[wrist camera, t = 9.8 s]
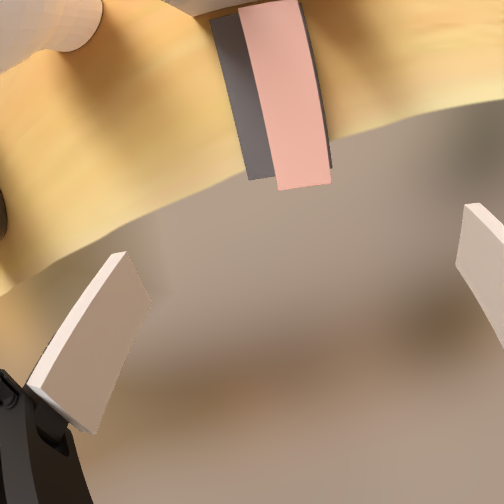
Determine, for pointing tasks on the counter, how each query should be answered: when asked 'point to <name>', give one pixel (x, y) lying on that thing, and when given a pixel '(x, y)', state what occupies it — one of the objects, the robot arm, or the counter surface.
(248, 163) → the pad
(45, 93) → the counter surface
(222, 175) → the counter surface
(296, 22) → the pink rectangular block
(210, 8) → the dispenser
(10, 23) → the cup
